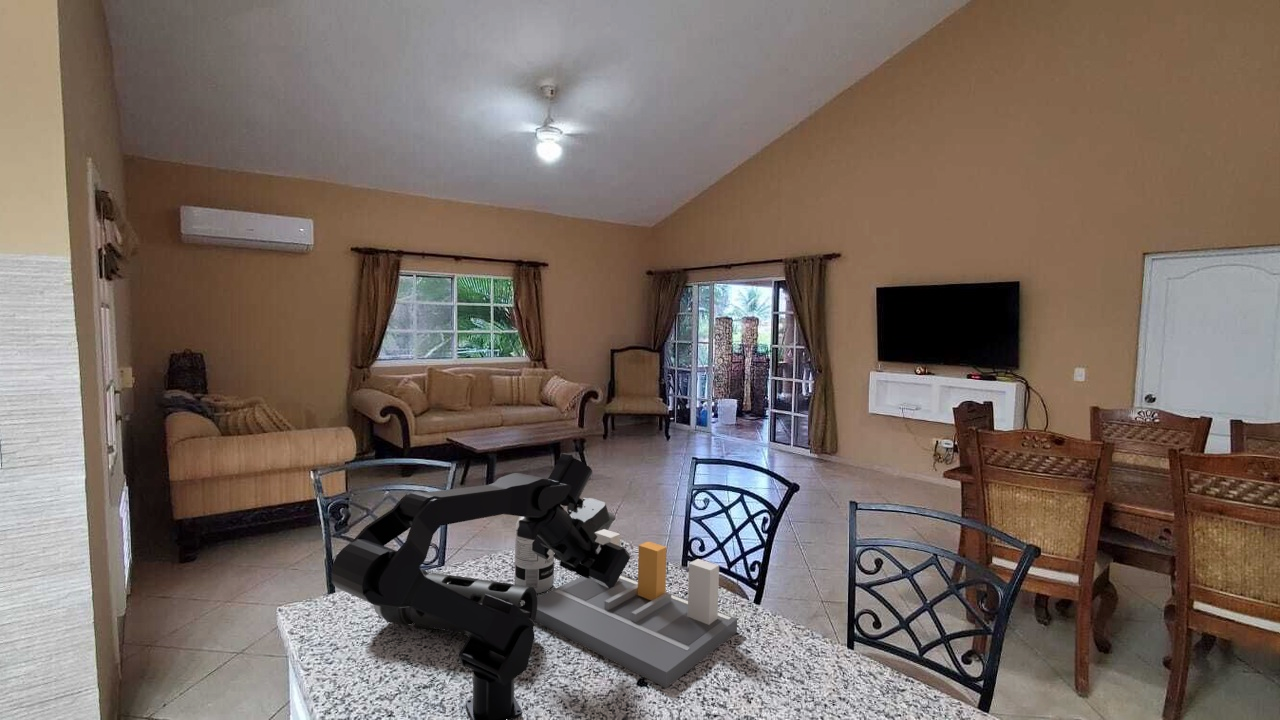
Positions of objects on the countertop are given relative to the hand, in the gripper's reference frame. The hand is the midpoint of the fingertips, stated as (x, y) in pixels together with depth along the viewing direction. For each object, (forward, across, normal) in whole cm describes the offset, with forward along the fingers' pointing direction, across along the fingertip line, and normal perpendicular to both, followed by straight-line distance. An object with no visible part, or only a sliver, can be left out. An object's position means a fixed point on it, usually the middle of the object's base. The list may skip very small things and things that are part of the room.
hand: (601, 575), depth 99 cm
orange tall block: (+17, 0, -4) cm, 17 cm away
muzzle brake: (-2, +20, +20) cm, 29 cm away
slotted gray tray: (+14, 0, +2) cm, 14 cm away
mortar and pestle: (+26, +26, -8) cm, 38 cm away
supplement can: (+13, +25, +5) cm, 28 cm away
